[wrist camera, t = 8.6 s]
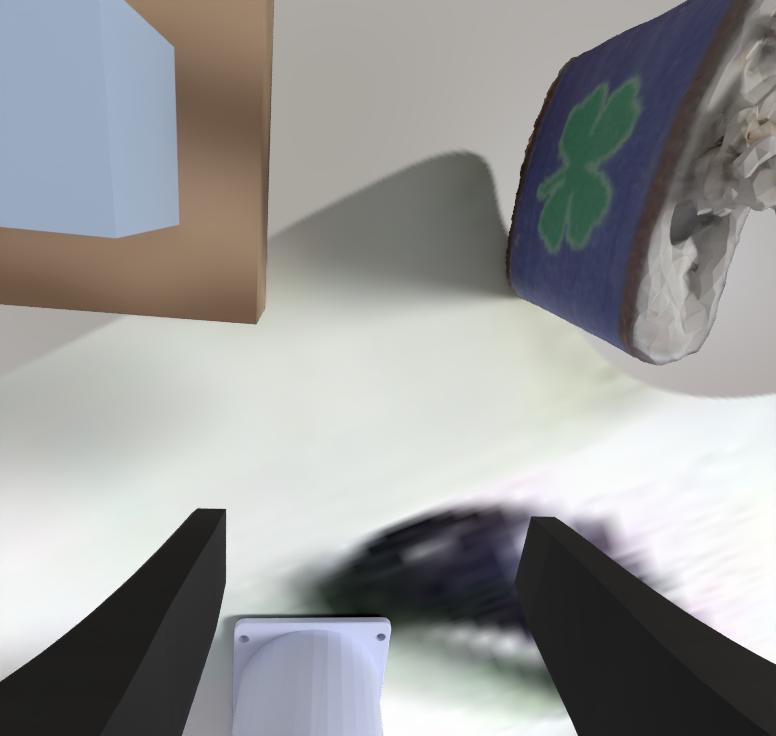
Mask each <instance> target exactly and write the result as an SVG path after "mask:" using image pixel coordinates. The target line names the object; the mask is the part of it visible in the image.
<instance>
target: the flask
mask: <svg viewBox="0 0 776 736" xmlns="http://www.w3.org/2000/svg"><path fill="white" fill-rule="evenodd" d="M520 177H521V178H520V184H519V188H518V191H517V193H516V200H515V206H514V210H513V215H512V218H511V220H512V224H511V228H510V231H509V237H508V246H507V247H508V248H507V251H506V257H505V258H506V259H507V260H506V265H507V270H506V273H507V279H509V285H510V286H511V287H512V288H513V290H514V292H515V293H516V294H517V295H518V296H519V297H520V298H522V299H524V300H526V301H529V302H531V303H532V304H535V305H537V306H539V307H541V308H543V309H545V310H547V311H549V312H551V313H553V314H555V315H557V316H559V317H560V318H563V319H565V320H566V321H568V322H569V323H571V324H574V325H576V326H578V327H580V328H582V329H583V330H585V331H587V332H589V333H591V334H593V335H595V336H597V337H599V338H601V339H603V340H605V341H607V342H608V343H610V344H612V345H613V346H615V347H617V348H619V349H621V350H623V351H624V352H626V353H628V354H629V355H631V356H633V357H636V358H638V359H639V360H641V361H643V362H647V363H650V364H654V365H664V364H667V363H670V362H674V361H678V360H680V359H682V358H683V357H685V356H687V355H690V354H693V353H696V352H698V351H699V349H700V348H701V346H702V345H703V343H704V342H705V340H706V339H707V337H708V335H709V333H710V330H711V328H712V326H713V323H714V321H715V318H716V313H717V308H718V302H719V300H720V297H721V294H722V292H723V289H724V287H725V283H726V277H727V270H728V268H729V266H730V263H731V261H732V258H733V255H734V251H735V248H736V246H737V244H738V243H739V239H740V233H741V230H742V228H743V226H744V223H745V221H746V218H747V216H748V214H749V211H750V209H751V208H752V209H753V210H756V211H763V210H765V209H768V208H772V209H774V210H775V213H776V0H687V1H685V2H684V3H682V4H680V5H678V6H677V7H675V8H673V9H671V10H669V11H668V12H666V13H664V14H662V15H660V16H658V17H656V18H654V19H652V20H650V21H648V22H645V23H643V24H640V25H638V26H636V27H633V28H631V29H629V30H627V31H625V32H623V33H621V34H620V35H616V36H615V37H613V38H611V39H609V40H607V41H606V42H604V43H602V44H601V45H599V46H597V47H595V48H593V49H592V50H589V51H587V52H584V53H582V54H581V55H579V56H578V57H573V58H571V59H570V61H568V62H567V63H566V64H565V65H564V66H563V67H562V69H561V70H560V71H559V74H558V77H557V78H556V80H555V81H554V82H553V83H552V85H551V87H550V89H549V91H548V92H547V97H546V98H545V100H544V104H543V106H542V109H541V111H540V114H539V115H538V118H537V119H536V121H535V124H534V131H533V133H532V135H531V136H530V138H529V144H528V145H527V148H526V150H525V158H524V162H523V164H522V166H521V171H520Z"/></svg>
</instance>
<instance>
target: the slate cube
mask: <svg viewBox="0 0 776 736" xmlns="http://www.w3.org/2000/svg"><path fill="white" fill-rule="evenodd" d="M176 225H179V194H178V160H177V127H176V93H175V59H174V47H173V46H172V45H171V44H170V43H169V42H168V41H167V40H166V39H165V38H164V37H163V36H162V35H161V34H160V33H159V32H157V31H156V30H155V29H154V28H153V27H152V26H151V25H150V24H149V23H148V22H147V21H146V20H145V19H144V18H143V17H141V16H140V15H139V14H138V13H137V12H136V11H135V10H134V9H133V8H132V7H131V6H130V5H129V4H128V3H127V2H125V1H124V0H0V227H6V228H17V229H27V230H37V231H47V232H57V233H67V234H77V235H88V236H98V237H108V238H120V237H125V236H129V235H134V234H138V233H143V232H148V231H152V230H157V229H162V228H166V227H171V226H176Z"/></svg>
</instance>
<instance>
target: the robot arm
mask: <svg viewBox="0 0 776 736" xmlns="http://www.w3.org/2000/svg"><path fill="white" fill-rule="evenodd" d="M225 584H226V509H200V508H198V509H196V510H195V511H194V512H193V513H192V514H191V515H190V516H189V517H188V518H187V519H186V520H185V521H184V522H183V524H182V525H181V526H180V527H179V528H178V529H177V530H176V531H175V532H174V533H173V535H172V536H171V537H170V538H169V539H168V540H167V541H166V542H165V543H164V544H163V545H162V546H161V547H160V548H159V549H158V550H157V551H156V552H155V553H154V554H153V555H152V556H151V557H150V558H149V559H148V560H147V561H146V562H145V563H144V564H143V565H142V566H141V567H140V568H139V569H138V570H137V571H136V572H135V573H134V574H133V575H132V576H131V577H130V578H129V579H128V580H127V581H126V582H125V583H124V584H123V585H122V586H120V587H119V588H118V589H117V590H116V591H115V592H114V593H113V594H112V595H111V596H109V597H108V598H107V599H106V600H105V601H104V602H103V603H102V604H101V605H100V606H98V607H97V608H96V609H95V610H94V611H93V612H92V613H90V614H89V615H88V616H87V617H86V618H84V619H83V620H82V621H81V622H80V623H78V624H77V625H76V626H75V627H74V628H72V629H71V630H70V631H69V632H67V633H66V634H65V635H64V636H62V637H61V638H60V639H58V640H57V641H56V642H55V643H53V644H52V645H51V646H50V647H48V648H47V649H46V650H44V651H43V652H42V653H40V654H39V655H38V656H36V657H35V658H33V659H32V660H31V661H29V662H28V663H27V664H25V665H24V666H22V667H21V668H19V669H18V670H17V671H15V672H14V673H12V674H11V675H9V676H8V677H6V678H5V679H4V680H2V681H1V682H0V736H182V733H183V730H184V727H185V724H186V721H187V718H188V715H189V712H190V708H191V705H192V702H193V699H194V696H195V693H196V690H197V687H198V684H199V681H200V678H201V675H202V672H203V668H204V665H205V662H206V659H207V656H208V653H209V650H210V647H211V643H212V640H213V637H214V634H215V631H216V627H217V623H218V618H219V613H220V609H221V604H222V599H223V594H224V589H225ZM515 586H516V590H517V593H518V596H519V600H520V603H521V606H522V609H523V612H524V615H525V618H526V621H527V624H528V627H529V629H530V631H531V633H532V636H533V638H534V640H535V642H536V645H537V647H538V649H539V651H540V653H541V656H542V658H543V660H544V662H545V664H546V666H547V669H548V671H549V673H550V675H551V677H552V679H553V682H554V684H555V686H556V688H557V690H558V692H559V695H560V697H561V699H562V701H563V703H564V705H565V707H566V710H567V712H568V714H569V716H570V718H571V720H572V723H573V725H574V727H575V730H576V732H577V734H578V736H776V664H774V663H772V662H770V661H768V660H766V659H764V658H763V657H761V656H759V655H757V654H755V653H753V652H751V651H750V650H748V649H746V648H744V647H743V646H741V645H739V644H737V643H736V642H734V641H732V640H730V639H729V638H727V637H726V636H724V635H722V634H721V633H719V632H717V631H716V630H714V629H712V628H711V627H709V626H707V625H706V624H704V623H702V622H701V621H699V620H698V619H696V618H694V617H693V616H691V615H690V614H688V613H687V612H685V611H684V610H682V609H681V608H679V607H678V606H676V605H675V604H673V603H672V602H670V601H669V600H667V599H666V598H665V597H663V596H662V595H660V594H659V593H657V592H656V591H654V590H653V589H652V588H650V587H649V586H647V585H646V584H645V583H643V582H642V581H640V580H639V579H638V578H636V577H635V576H634V575H632V574H631V573H629V572H628V571H627V570H625V569H624V568H623V567H621V566H620V565H619V564H617V563H616V562H615V561H614V560H612V559H611V558H610V557H608V556H607V555H606V554H604V553H603V552H602V551H600V550H599V549H598V548H596V547H595V546H594V545H593V544H591V543H590V542H589V541H587V540H586V539H585V538H583V537H582V536H581V535H579V534H578V533H577V532H575V531H574V530H573V529H571V528H570V527H569V526H567V525H566V524H564V523H563V522H562V521H560V520H559V519H557V518H555V517H532V516H531V520H530V524H529V528H528V532H527V536H526V540H525V544H524V548H523V552H522V556H521V560H520V564H519V568H518V572H517V576H516V580H515ZM390 633H391V625H390V621H389V620H388V619H387V618H383V617H357V618H244V619H240V620H238V621H237V622H236V624H235V628H234V657H233V728H232V734H231V736H383V728H382V718H381V708H380V699H381V693H382V686H383V679H384V673H385V666H386V659H387V653H388V646H389V639H390ZM378 634H381V635H378ZM243 635H245V636H243Z"/></svg>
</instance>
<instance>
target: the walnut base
mask: <svg viewBox="0 0 776 736" xmlns="http://www.w3.org/2000/svg"><path fill="white" fill-rule="evenodd" d="M124 1H125V2H127V3H128V4H129V5H130V6H131V7H132V8H133V9H134V10H135V11H136V12H137V13H138V14H139V15H140V16H141V17H143V18H144V19H145V20H146V21H147V22H148V23H149V24H150V25H151V26H152V27H153V28H154V29H155V30H156V31H157V32H159V33H160V34H161V35H162V36H163V37H164V38H165V39H166V40H167V41H168V42H169V43H170V44H171V45H172V46H173V47H174V59H175V93H176V127H177V160H178V194H179V225H176V226H171V227H166V228H162V229H157V230H152V231H148V232H143V233H138V234H134V235H129V236H125V237H120V238H108V237H98V236H88V235H77V234H67V233H57V232H47V231H37V230H27V229H17V228H6V227H0V304H4V305H17V306H30V307H42V308H54V309H68V310H80V311H92V312H106V313H118V314H131V315H143V316H156V317H169V318H182V319H194V320H207V321H220V322H232V323H245V324H257V322H258V320H259V318H260V317H261V315H262V313H263V311H264V309H265V291H266V257H267V223H268V221H267V220H268V189H269V188H268V187H269V186H268V185H269V155H270V119H271V86H272V52H273V50H272V49H273V17H274V0H124Z"/></svg>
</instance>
